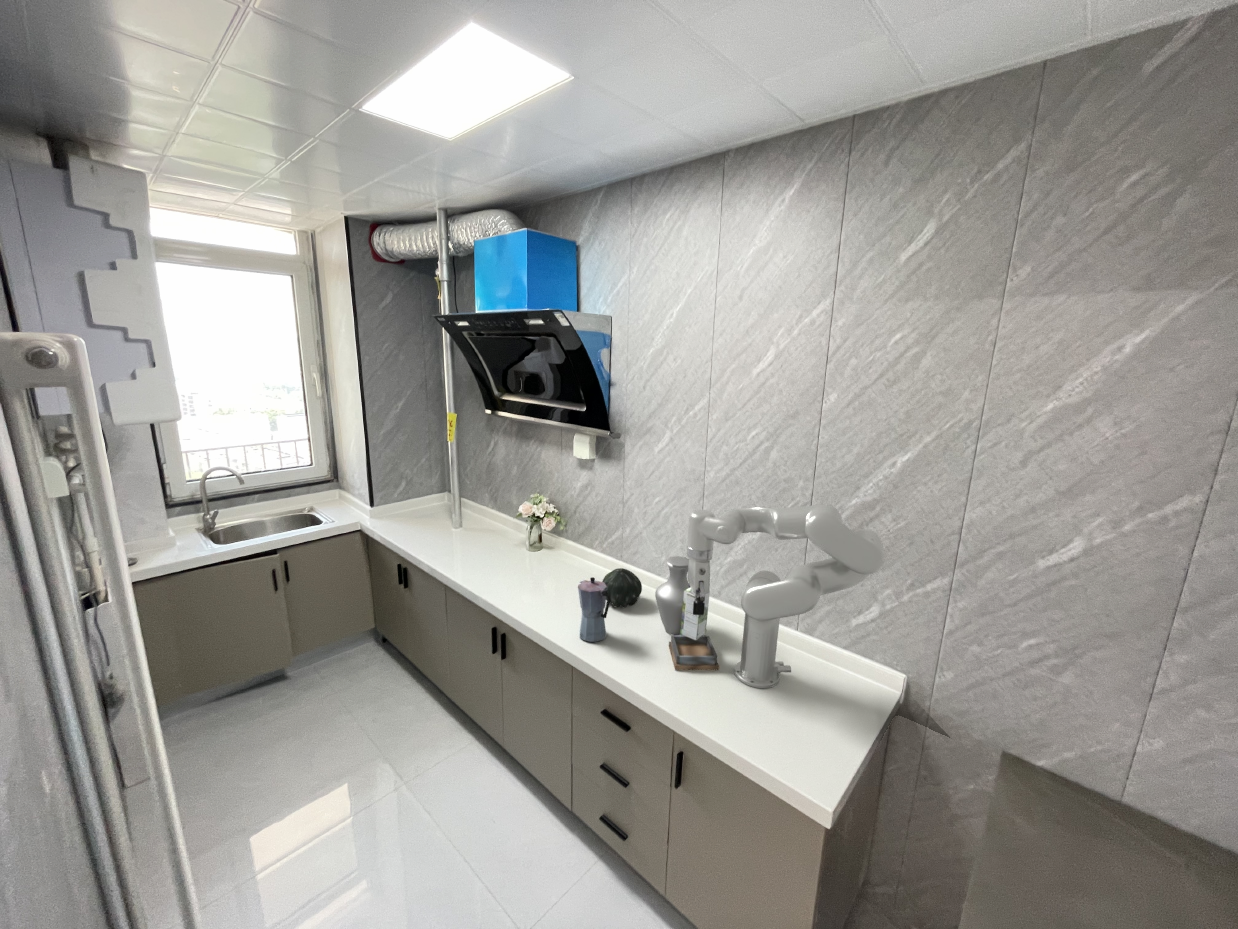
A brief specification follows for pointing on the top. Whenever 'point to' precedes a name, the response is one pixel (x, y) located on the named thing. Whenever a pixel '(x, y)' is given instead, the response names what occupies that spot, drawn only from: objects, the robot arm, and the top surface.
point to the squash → (622, 587)
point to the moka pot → (593, 609)
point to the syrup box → (693, 616)
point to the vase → (673, 594)
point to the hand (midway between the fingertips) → (695, 607)
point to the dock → (693, 653)
